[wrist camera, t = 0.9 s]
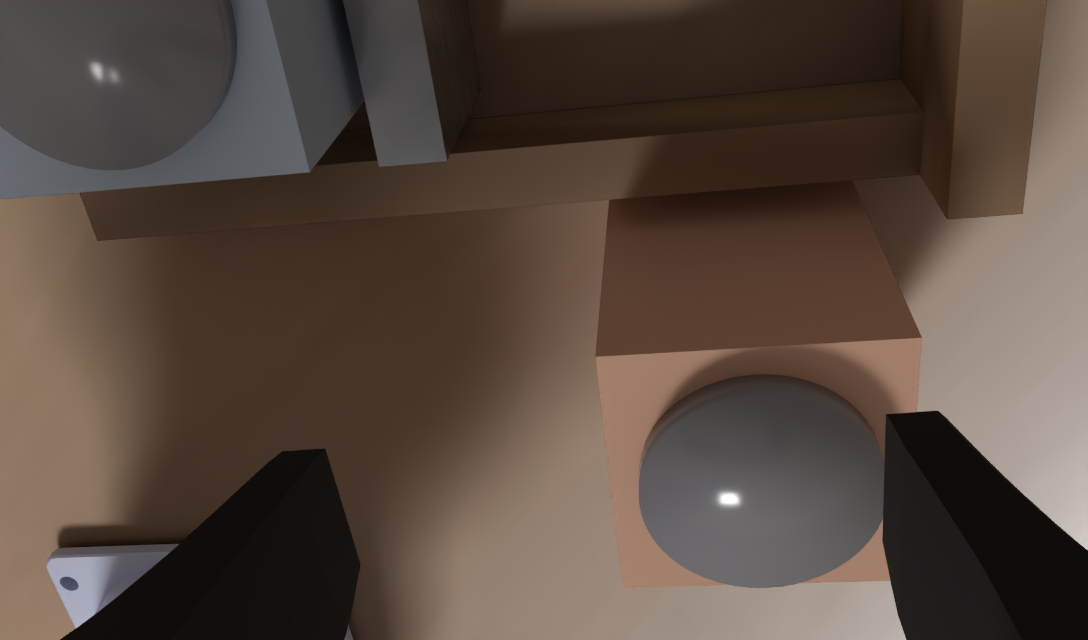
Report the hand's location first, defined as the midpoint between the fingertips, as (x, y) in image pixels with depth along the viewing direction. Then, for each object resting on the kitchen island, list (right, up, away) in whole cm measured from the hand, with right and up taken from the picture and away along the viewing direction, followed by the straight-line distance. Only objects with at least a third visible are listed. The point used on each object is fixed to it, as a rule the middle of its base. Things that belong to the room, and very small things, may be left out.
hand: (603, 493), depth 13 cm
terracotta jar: (+3, +3, +10) cm, 11 cm away
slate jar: (-6, +10, +7) cm, 13 cm away
